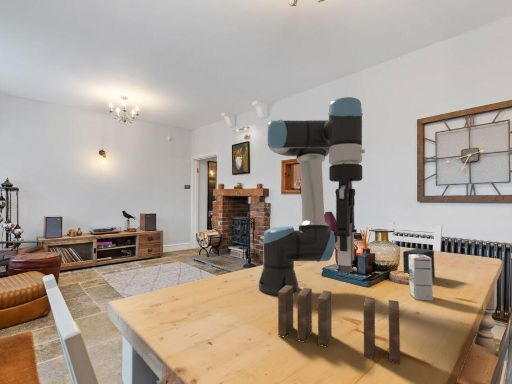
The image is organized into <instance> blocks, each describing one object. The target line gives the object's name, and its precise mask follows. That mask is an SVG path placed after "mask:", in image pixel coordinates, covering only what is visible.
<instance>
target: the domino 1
mask: <svg viewBox="0 0 512 384" xmlns="http://www.w3.org/2000/svg"><path fill="white" fill-rule="evenodd" d="M277 297H278V298H277V300H278V301H277V305H278V306H277V307H278V308H277V309H278V311H277V312H278V314H277V317H278V321H277V323H278V324H277V327H278V329H277V331H278V333H277V334H278V335H280V336H284V337H286V336H287V335H288V336H289V335H290V333H291V332H292V330H293V329H294V293H293V286H289V285H286V286H285V287H283V288H282V289H281V290H280V291H279V292H278V295H277ZM292 328H293V329H292ZM290 331H291V332H290ZM289 332H290V333H289ZM278 335H277V336H278ZM280 336H279V337H280ZM288 336H287V337H288ZM284 337H283V338H284ZM287 337H286V338H287Z"/></svg>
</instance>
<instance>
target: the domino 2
mask: <svg viewBox="0 0 512 384" xmlns="http://www.w3.org/2000/svg"><path fill="white" fill-rule="evenodd" d="M312 290H313V289H312V288H310V287H303V288H302V290H300V292H298V293H297V297H296V299H297V301H296V302H297V305H296V306H297V308H296V309H297V341H298V340H300V341H299V342H301V341H304V342H303V343H307V341H308V340H309V338H308V337H310V336H311V334H312V332H313V306H312V305H313V300H312V299H313V291H312ZM310 333H311V334H310ZM309 335H310V336H309ZM306 340H307V341H306Z"/></svg>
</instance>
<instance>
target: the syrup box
mask: <svg viewBox="0 0 512 384" xmlns="http://www.w3.org/2000/svg"><path fill="white" fill-rule="evenodd" d="M408 282H409V283H408V285H409V286H408V287H409V289H408V290H409V295H410V296H411V298H413V299H414V300H416V301H417V300H418V301H431V302H433V300H434V297H433V295H434V294H433V278H432V262H431V258H430V257H428V256H426V255H421V254H409V280H408Z"/></svg>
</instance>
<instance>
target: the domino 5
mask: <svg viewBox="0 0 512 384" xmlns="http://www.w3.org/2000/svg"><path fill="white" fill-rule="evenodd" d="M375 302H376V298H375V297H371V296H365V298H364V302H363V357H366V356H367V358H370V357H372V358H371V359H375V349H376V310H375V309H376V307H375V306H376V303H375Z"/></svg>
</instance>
